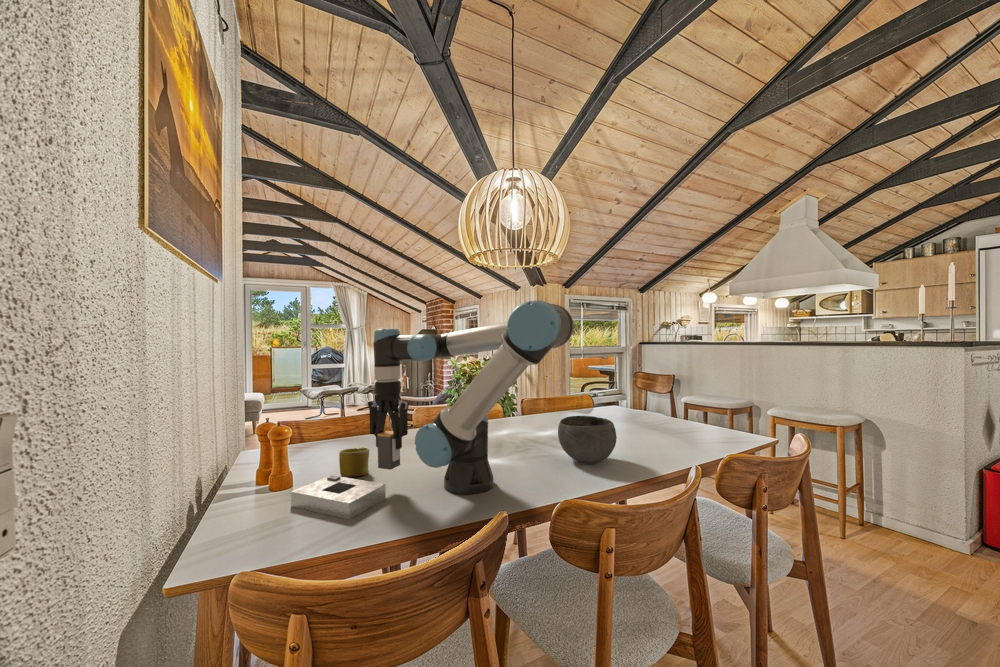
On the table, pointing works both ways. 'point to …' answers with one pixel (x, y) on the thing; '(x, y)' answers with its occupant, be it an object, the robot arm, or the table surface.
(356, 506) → the socket plate
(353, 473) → the mug
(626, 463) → the table surface
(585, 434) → the bowl
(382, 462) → the plug
